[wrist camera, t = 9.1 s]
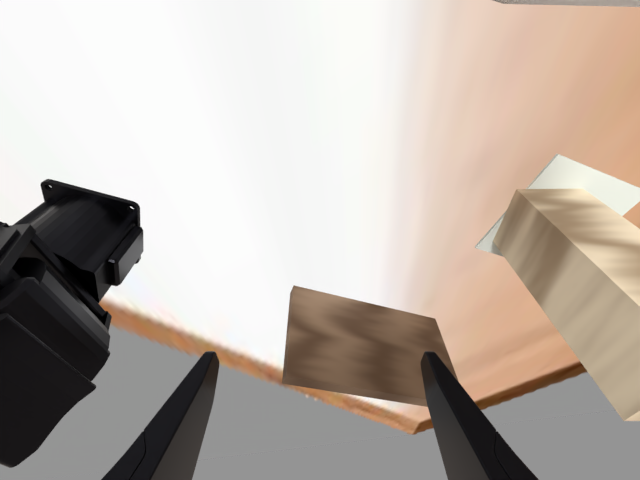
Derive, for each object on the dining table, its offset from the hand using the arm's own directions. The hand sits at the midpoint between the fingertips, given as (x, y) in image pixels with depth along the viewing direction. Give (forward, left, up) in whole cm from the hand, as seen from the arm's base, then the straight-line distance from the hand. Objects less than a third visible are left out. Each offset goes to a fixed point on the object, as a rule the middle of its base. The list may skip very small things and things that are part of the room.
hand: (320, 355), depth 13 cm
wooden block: (+17, +4, -13) cm, 22 cm away
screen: (+9, -11, -13) cm, 19 cm away
